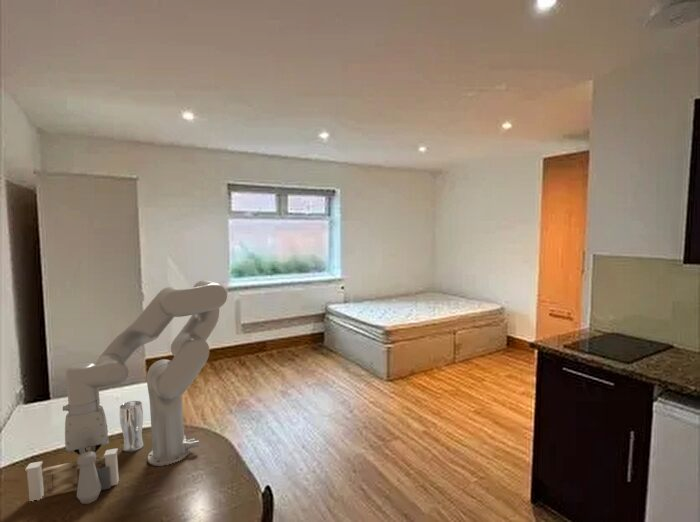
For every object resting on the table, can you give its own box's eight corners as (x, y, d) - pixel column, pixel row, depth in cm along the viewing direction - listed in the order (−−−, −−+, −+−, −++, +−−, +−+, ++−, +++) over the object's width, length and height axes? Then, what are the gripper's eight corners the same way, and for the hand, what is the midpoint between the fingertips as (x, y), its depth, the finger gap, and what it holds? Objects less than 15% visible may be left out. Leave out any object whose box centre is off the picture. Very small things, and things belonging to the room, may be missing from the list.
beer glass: (129, 455, 135) (126, 411, 133) (117, 449, 138) (114, 406, 137) (149, 445, 141) (146, 403, 139) (137, 440, 144) (134, 398, 143)
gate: (44, 495, 113) (41, 471, 113) (45, 492, 115) (43, 467, 114) (106, 482, 119) (104, 458, 118) (107, 479, 121) (105, 455, 120)
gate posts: (119, 479, 122) (117, 448, 121) (116, 487, 118) (114, 455, 117) (32, 495, 115) (29, 463, 114) (26, 505, 111) (23, 471, 110)
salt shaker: (71, 504, 111) (68, 458, 110) (89, 491, 116) (85, 447, 115) (90, 507, 110) (86, 460, 108) (107, 493, 115) (103, 449, 114)
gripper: (50, 417, 112) (56, 481, 114) (113, 405, 118) (117, 466, 120) (56, 406, 119) (61, 466, 120) (115, 396, 125) (120, 453, 127)
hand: (89, 466), depth 120 cm, fingers closed
